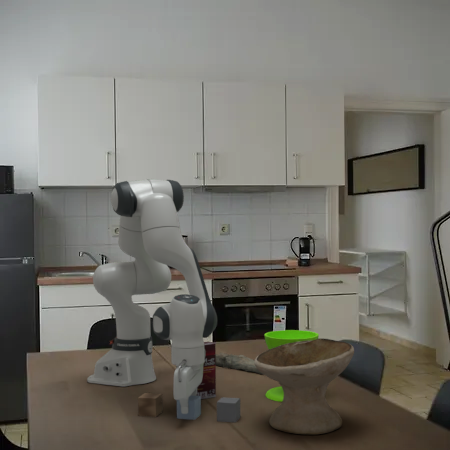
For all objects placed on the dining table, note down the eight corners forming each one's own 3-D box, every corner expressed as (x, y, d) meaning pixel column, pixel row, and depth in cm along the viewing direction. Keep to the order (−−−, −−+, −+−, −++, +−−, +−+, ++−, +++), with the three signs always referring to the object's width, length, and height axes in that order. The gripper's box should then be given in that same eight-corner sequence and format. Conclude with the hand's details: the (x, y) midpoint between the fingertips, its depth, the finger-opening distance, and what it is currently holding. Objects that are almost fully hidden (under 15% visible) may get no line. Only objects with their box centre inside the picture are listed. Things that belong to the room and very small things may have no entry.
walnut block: (138, 416, 179) (138, 397, 179) (145, 411, 184) (145, 392, 184) (155, 417, 178) (155, 398, 178) (162, 412, 182) (162, 393, 182)
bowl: (258, 409, 183) (256, 336, 183) (350, 410, 181) (349, 336, 181) (252, 439, 158) (250, 355, 158) (360, 441, 155) (358, 355, 155)
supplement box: (191, 401, 192) (190, 346, 192) (183, 397, 197) (182, 343, 197) (217, 397, 197) (216, 343, 197) (209, 393, 201) (208, 340, 201)
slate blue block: (177, 418, 176) (176, 399, 176) (183, 413, 181) (183, 395, 181) (195, 420, 175) (194, 400, 174) (200, 414, 179) (200, 396, 179)
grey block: (217, 421, 173) (216, 402, 173) (222, 416, 178) (221, 397, 178) (235, 422, 172) (235, 403, 171) (240, 417, 176) (240, 398, 176)
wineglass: (258, 400, 193) (257, 337, 192) (273, 387, 208) (272, 329, 207) (313, 404, 187) (312, 340, 187) (324, 390, 202) (323, 331, 202)
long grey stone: (274, 383, 219) (293, 379, 226) (275, 367, 219) (294, 364, 226) (200, 363, 243) (219, 360, 251) (201, 348, 243) (220, 346, 251)
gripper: (191, 365, 167) (192, 420, 167) (206, 349, 187) (207, 398, 187) (166, 364, 168) (167, 419, 168) (184, 349, 188) (185, 398, 188)
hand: (188, 408), depth 178 cm, fingers open, 7 cm apart
